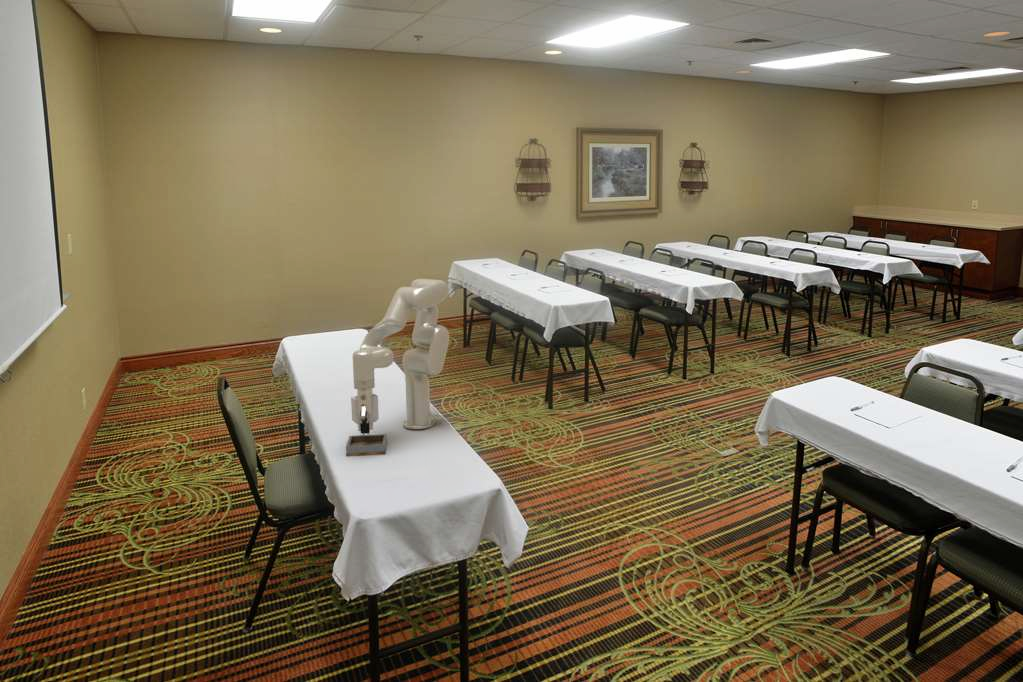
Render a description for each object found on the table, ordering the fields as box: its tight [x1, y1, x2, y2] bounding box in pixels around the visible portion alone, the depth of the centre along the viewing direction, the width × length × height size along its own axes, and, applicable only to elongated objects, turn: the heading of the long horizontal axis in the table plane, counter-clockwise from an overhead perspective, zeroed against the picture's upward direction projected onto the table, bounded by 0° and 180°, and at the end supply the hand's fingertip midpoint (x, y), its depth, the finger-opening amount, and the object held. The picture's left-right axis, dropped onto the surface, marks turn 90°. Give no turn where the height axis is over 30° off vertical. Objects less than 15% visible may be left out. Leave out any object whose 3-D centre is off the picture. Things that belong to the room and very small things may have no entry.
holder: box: [345, 433, 388, 457], centre depth 248 cm, size 14×12×4 cm
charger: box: [350, 393, 380, 436], centre depth 246 cm, size 5×9×15 cm, turn 120°
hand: (366, 429), depth 247 cm, fingers closed on charger, 6 cm apart
